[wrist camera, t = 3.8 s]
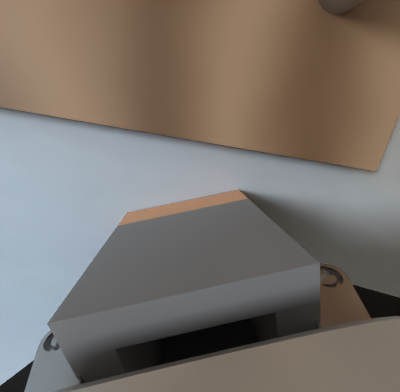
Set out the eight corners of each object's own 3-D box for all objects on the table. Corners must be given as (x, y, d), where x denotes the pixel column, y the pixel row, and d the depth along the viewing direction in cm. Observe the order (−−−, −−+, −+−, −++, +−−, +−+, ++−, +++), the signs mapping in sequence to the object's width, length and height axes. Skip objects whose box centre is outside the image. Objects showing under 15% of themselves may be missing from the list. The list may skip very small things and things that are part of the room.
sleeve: (238, 189, 11) (319, 262, 4) (250, 281, 12) (321, 426, 6) (126, 212, 10) (47, 323, 4) (155, 302, 12) (129, 474, 6)
